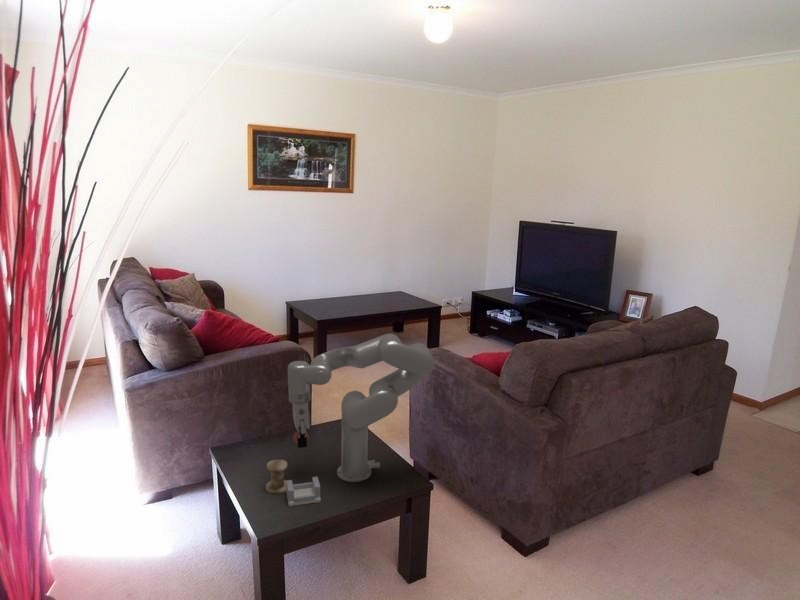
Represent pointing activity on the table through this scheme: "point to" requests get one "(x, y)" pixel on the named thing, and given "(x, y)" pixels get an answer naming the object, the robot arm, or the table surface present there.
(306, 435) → the bead
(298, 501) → the grey u-shaped holder
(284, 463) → the bobbin
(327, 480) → the table surface
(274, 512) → the table surface
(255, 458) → the table surface
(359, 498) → the table surface
